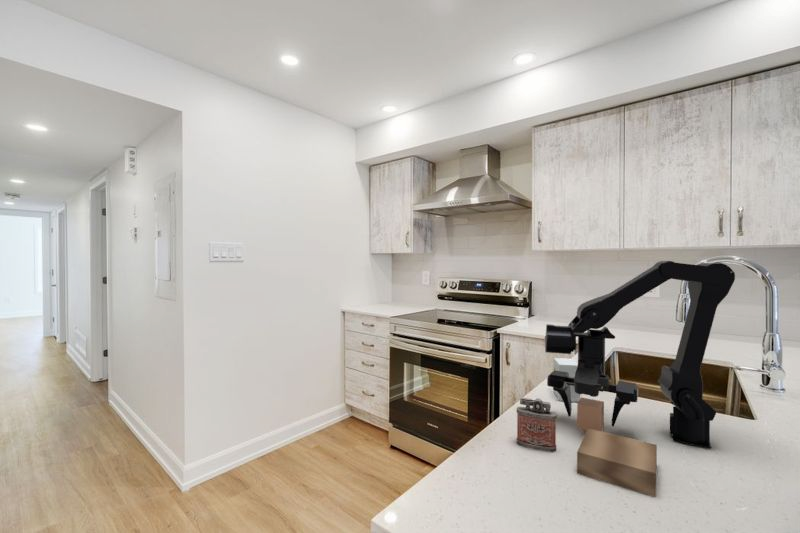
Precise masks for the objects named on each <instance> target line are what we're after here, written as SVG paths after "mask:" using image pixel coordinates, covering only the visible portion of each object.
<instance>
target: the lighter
mask: <svg viewBox="0 0 800 533" xmlns="http://www.w3.org/2000/svg"><path fill="white" fill-rule="evenodd" d="M519 404H520V405H521V406H517V407H516V413H517V414H516V415H517V416H516V417H517V421H516V422H517V424H516V425H517V426H516V427H517V430H516V431H517V432H516V433H517V434H516V438H515V440H516V445H518V446H520V447H523V448H526V449H531V450H536V451H540V452H548V453H549V452H550V453H554V452H555V453H556V451H557V444H556V442H557V441H556V439H557V438H556V437H557V436H556V432H557V428H556V426H557V425H556V424H557V423H556V422H557V421H556V420H557V416H558V414H557V412H555V411H551V402H549V401H543V400H542V398H538V397H537V398H535V399H532V398H529V397H523V396H522V397H520V398H519ZM522 405H523V406H522Z"/></svg>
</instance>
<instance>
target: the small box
mask: <svg viewBox="0 0 800 533" xmlns="http://www.w3.org/2000/svg"><path fill="white" fill-rule="evenodd" d="M552 362H553V371H554V370H555V371H562V372H568V373H569V377H573V378H574V377H575V372H576V370H577V367H578V362H576V361H575V360H574V359H573V358H564V357H562V358H561V357H553V361H552ZM553 371H552V372H553ZM570 390H571V403H578V402H579V400H580V398H581V394H577V393H576V392H575V389H574V386H572V385H570ZM553 393H554V395H555V396H556V398H557V400H559V402H563V399H562V397H561V395H560V394H559V393H558V392H557V391H555V390H553Z"/></svg>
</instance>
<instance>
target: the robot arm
mask: <svg viewBox="0 0 800 533" xmlns="http://www.w3.org/2000/svg"><path fill="white" fill-rule="evenodd" d="M671 279H673V280H677V281H684V282H688V286H687V288H688V294H689V300H690V303H689V307H688V310H687V314H686V317H685V322H684V326H683V327H682V328H683V330H682V332H681V333H682V334H681V337H680V340H679V344H678V347H677V351H676V354H675V355H676V356H675V359H674V361H673V362H672V364H671V365H669V366H667V365H662V366H661V370H660V371H661V372H660V373H661V374H660V376H659V378H658V379H657V382H658V383H659V388H660V391H661V392H662V394H663V395H664V396H665V397H666V398H667V399H669V402H670V404H671V405H672V412H670V413H669V434H670V435H671V436H672V437H671V438H672V441H674V442H678V443H681V444H686V445H689V446H695V447H699V448H703V449H707V450H711V449H712V445H711V442H710V441H711V440H710V436H711V435H710V434H711V433H710V432H711V430H710V429H711V427H710V426H711V423H710V422H712V421H714V418H715V417H716V414H717V411H716V410H715V409H714V408H713V407H712V406H711V405H710V404H709V403H707V402H706V401H705V400H704V399H703V395H704V394H703V393H704V392H703V391H704V382H703V377H702V371H701V369H702V365H703V361H704V356H705V354H706V353H705V352H706V349H707V345H708V341H709V339H710V335H711V330H712V326H713V323H714V320H715V316H716V311H717V308H718V306H719V305H720V303H721V302H722V301H723V300H724V299H725V298H726V297H727V296H728V294H729V293H730V290H731V288H732V286H733V285H734V283H735V280H736V273H735V272H734V271H733V269H732V268H731V267H730V266H729V265H727V264H725V263H721V262H710V263H709V262H702V263H698V264H692V263H691V264H690V263H682V262H681V263H680V262H675V261H673V260H661V261H660V260H659V261H657V262H656V263H655V264H654V265H653V266H651V267H650V268H648V269H647V270H645V271H643V272H641V273H640V274H638V275H637V276H635V277H633V278H632V279H630V280H628V281H627V282H625V283H624V284H622V285H620V286H619V287H617V288H615V289H614V290H612V291H611V292H609V293H606V294H604V295H601V296H598V297H595V298H593V299H590V300H587V301H585V302H583V303H581V304H580V305H579V306H578V307H577V309H576V310H577V311H576V315H575V317H574V318H572V320H571V321H570V323H569V324H567V325H554V324H549V323H547V324H545V325H546V326H545V336H544V352H545V353H548V354H549V353H550V354H563V355H565V354H566V355H571V354H572V353H574V351H576V350H577V364H578V367H577V370H576V372H575V377H574V378H573V377H569V373H568V372H562V371H555V370H554V371H552V372H550V374H548V375H547V379H546V380H547V384H546V386H548V387H551V388H552V389H553V391H554V390H555V391H557V392H558V393H559V394H560V395H561V397H562V399H563V401H562V402H563V404H564V407H565V410H566V413H567V416H568V417H572V409H573V408H572V407H573V406H572V402H571V390H570V385H572V386H574V389H575V392H576V393H577V394H580V395H586V396H589V397H593V398H594V397H595V398H596V397H598V396H599V393H601V392H602V393H605V392H606V393H612V394H615V397H614V403H613V411H612V415H611V416H612V417H611V427H614V426H615V424H616V422H617V419H618V417H619V414H620V412H621V410H622V408H623V407H624V405H627V406H628V405H631V403H637V402H638V399H639V386H638V385H637V384H636V383H635V382H628V381H623V380H622V381H621V380H618V381H617V384H614V383H610V377H609V375H608V374H606V339H610V340H614V339H616V336H615V335H614V334H613V333H612V332H611V331H610V330H609V328H608V327H606V326H605V325H607V324H608V323H609V322H610V321H611V320H612V319H614V318H615V317H616V315H617V314H618V313H619V311H620V310H622V309H623V308H625V307H626V306H627V305H629V304H631V303H632V302H634V301H636V300H637V299H639V298H641V297H642V296H644V295H646V294H648V293H649V292H651V291H652V290H653V289H656V288H657V287H659V286H661V285H662V284H664V283H666V282H667V281H669V280H671ZM576 348H577V349H576Z"/></svg>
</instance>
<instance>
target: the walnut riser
mask: <svg viewBox="0 0 800 533" xmlns="http://www.w3.org/2000/svg"><path fill="white" fill-rule="evenodd" d="M585 431H586V430H585ZM576 452H577V453H576V474H579V475H581V476H584V477H585V476H586V477H588V478H592V479H595V480H599V481H600V482H601V481H602V482H605V483H609V484H611V485H614V486H618V487H621V488H623V489H628V490H631V491H634V492H637V493H640V494H644V495H646V496H650V497H654V498H656V496H657V495H656V493H657V491H656V490H657V460H658V458H657V457H658V455H657V452H658V447H657V444H656V443H650V442H647V441H644V440H643V441H642V440H638V439H634V438H631V437H625V436H622V435H618V434H614V433H608V432H604V431H602V432H601V431H597V430H593V429H587V431H586V432H585V434H584V436H583V438H582V441H581V442H580V444H579V447H578V449H577V451H576Z"/></svg>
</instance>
